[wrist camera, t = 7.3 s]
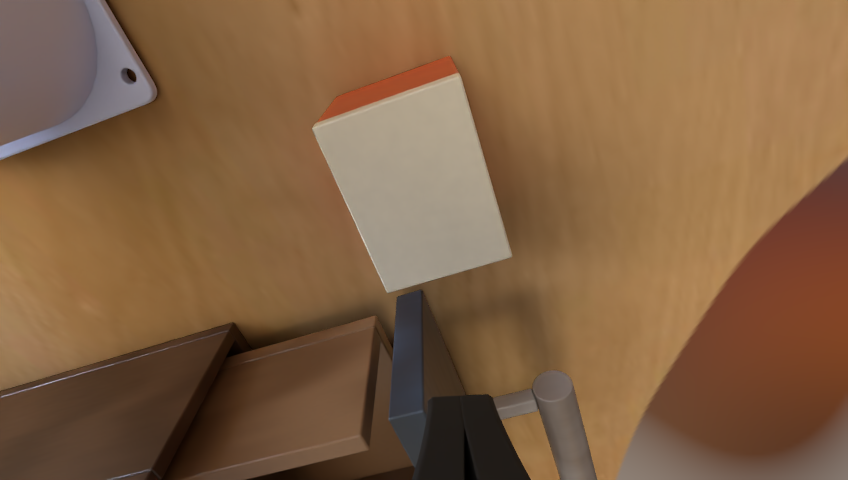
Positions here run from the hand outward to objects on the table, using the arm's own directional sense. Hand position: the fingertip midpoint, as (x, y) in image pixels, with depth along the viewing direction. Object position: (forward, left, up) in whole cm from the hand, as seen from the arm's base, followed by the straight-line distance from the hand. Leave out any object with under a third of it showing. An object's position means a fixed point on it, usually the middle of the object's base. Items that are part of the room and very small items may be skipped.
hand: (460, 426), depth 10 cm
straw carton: (-3, 0, -10) cm, 11 cm away
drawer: (+8, -6, -9) cm, 14 cm away
